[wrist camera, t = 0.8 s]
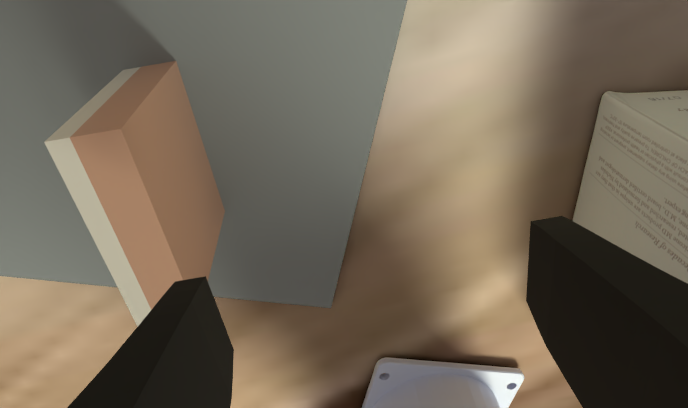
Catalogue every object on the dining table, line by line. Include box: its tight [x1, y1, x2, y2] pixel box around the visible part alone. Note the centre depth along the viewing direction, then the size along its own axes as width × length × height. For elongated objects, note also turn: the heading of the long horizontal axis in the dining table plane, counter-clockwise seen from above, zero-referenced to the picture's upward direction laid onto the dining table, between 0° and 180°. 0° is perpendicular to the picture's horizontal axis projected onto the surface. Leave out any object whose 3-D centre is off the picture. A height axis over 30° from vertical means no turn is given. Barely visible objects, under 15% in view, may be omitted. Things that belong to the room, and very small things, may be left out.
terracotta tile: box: [44, 61, 225, 326], centre depth 16 cm, size 2×6×6 cm, turn 9°
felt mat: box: [0, 0, 407, 308], centre depth 18 cm, size 14×15×1 cm
